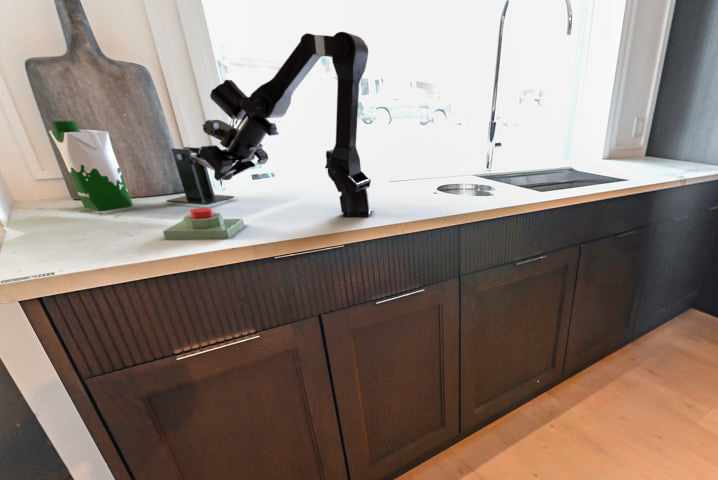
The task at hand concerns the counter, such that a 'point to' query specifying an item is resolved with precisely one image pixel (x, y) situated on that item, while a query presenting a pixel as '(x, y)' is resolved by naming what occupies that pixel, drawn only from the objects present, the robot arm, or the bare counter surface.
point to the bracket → (194, 179)
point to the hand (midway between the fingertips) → (221, 178)
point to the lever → (204, 163)
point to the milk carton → (91, 166)
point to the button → (201, 213)
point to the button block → (204, 228)
